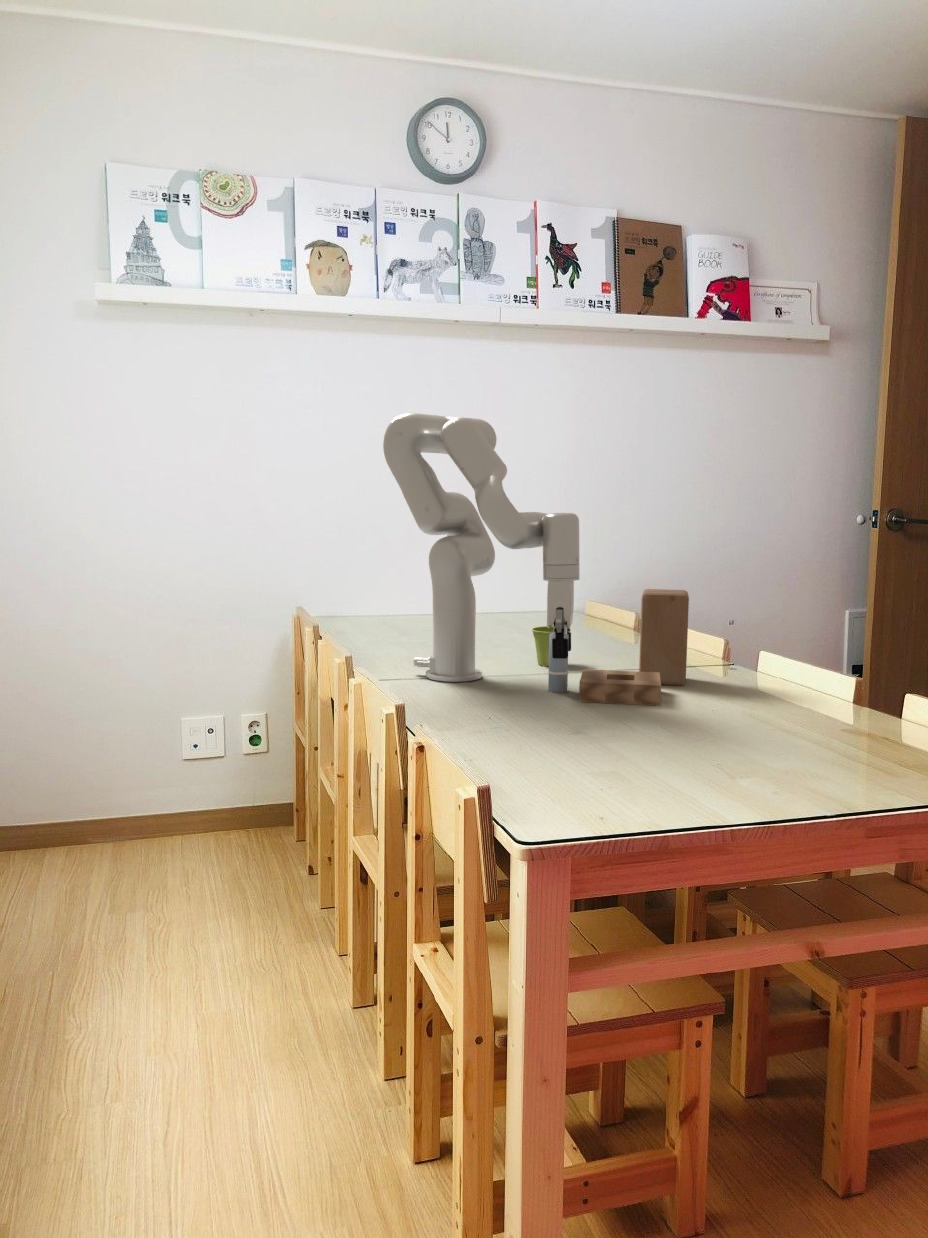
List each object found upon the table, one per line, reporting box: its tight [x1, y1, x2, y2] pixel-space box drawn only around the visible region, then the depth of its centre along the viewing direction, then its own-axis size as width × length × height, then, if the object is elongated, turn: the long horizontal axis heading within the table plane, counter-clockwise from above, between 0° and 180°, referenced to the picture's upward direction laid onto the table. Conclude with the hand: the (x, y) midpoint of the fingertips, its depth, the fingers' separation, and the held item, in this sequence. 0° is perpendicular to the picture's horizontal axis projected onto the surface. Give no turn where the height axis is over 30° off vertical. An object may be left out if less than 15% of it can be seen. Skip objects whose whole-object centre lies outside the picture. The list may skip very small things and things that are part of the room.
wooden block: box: [638, 588, 690, 686], centre depth 223 cm, size 10×10×20 cm
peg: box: [547, 633, 569, 694], centre depth 213 cm, size 4×4×12 cm
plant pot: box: [530, 625, 572, 667], centre depth 243 cm, size 9×9×9 cm
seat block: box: [578, 669, 662, 706], centre depth 208 cm, size 16×14×4 cm
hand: (561, 654), depth 212 cm, fingers open, 9 cm apart
